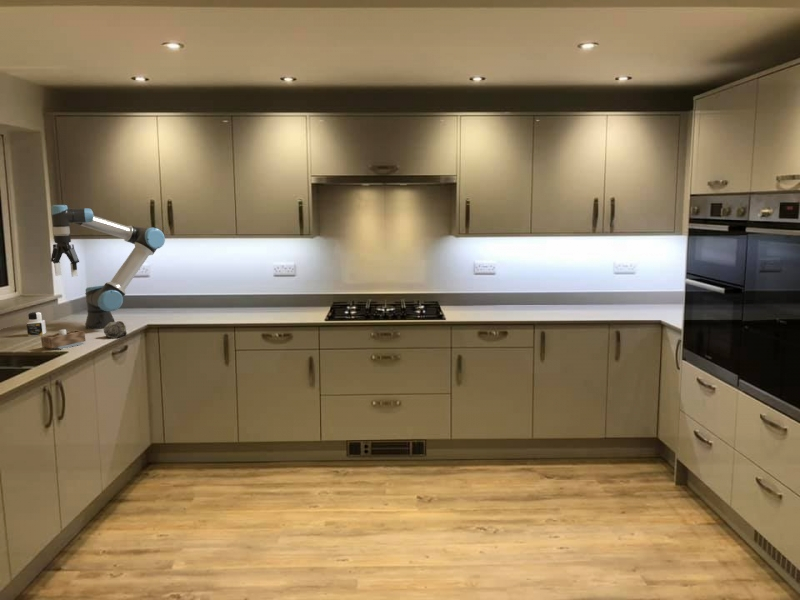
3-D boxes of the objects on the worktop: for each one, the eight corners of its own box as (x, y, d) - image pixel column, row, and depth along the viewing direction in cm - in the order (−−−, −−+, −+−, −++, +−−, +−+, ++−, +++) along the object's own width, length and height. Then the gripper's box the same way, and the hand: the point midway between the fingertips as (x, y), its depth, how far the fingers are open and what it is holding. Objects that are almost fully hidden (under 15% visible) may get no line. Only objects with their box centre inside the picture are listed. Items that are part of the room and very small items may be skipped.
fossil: (105, 339, 309) (102, 320, 312) (104, 344, 317) (101, 326, 319) (128, 335, 315) (125, 317, 317) (127, 341, 322) (123, 323, 325)
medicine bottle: (27, 336, 322) (25, 314, 320) (31, 333, 329) (29, 311, 327) (42, 335, 324) (40, 313, 322) (46, 332, 331) (44, 311, 329)
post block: (68, 342, 306) (66, 326, 304) (83, 344, 300) (81, 328, 299) (44, 347, 295) (42, 331, 294) (59, 349, 289) (57, 333, 288)
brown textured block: (75, 339, 307) (74, 330, 306) (85, 341, 303) (84, 331, 302) (42, 346, 292) (40, 336, 291) (52, 348, 288) (51, 338, 287)
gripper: (84, 234, 312) (88, 275, 315) (54, 234, 324) (58, 274, 327) (70, 235, 306) (74, 277, 309) (40, 235, 317) (45, 275, 321)
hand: (66, 275), depth 318 cm, fingers open, 13 cm apart
